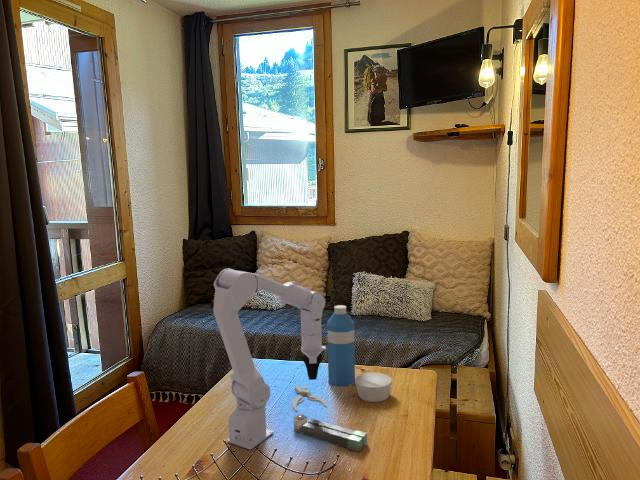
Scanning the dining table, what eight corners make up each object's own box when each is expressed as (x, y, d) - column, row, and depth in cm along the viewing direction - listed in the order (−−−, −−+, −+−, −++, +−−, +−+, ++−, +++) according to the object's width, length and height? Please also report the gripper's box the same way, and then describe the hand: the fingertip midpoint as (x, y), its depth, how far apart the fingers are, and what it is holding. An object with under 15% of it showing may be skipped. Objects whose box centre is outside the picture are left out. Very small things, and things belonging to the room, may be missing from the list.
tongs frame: (358, 452, 115) (358, 438, 114) (290, 431, 126) (289, 418, 125) (366, 444, 118) (366, 430, 118) (298, 425, 129) (298, 411, 129)
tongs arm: (363, 446, 117) (363, 436, 117) (308, 430, 126) (307, 420, 125) (367, 443, 119) (367, 433, 118) (312, 426, 127) (312, 417, 127)
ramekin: (353, 403, 141) (353, 386, 141) (357, 387, 152) (357, 371, 152) (391, 405, 139) (391, 388, 139) (392, 389, 150) (392, 373, 150)
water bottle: (348, 373, 163) (347, 302, 161) (360, 383, 155) (359, 308, 152) (323, 377, 160) (321, 305, 157) (334, 388, 151) (332, 311, 149)
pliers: (294, 407, 136) (284, 386, 151) (294, 413, 137) (284, 391, 151) (327, 403, 139) (315, 382, 153) (327, 408, 139) (315, 387, 154)
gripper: (327, 340, 128) (328, 388, 129) (323, 324, 142) (324, 368, 144) (301, 341, 127) (302, 389, 129) (300, 325, 142) (301, 369, 143)
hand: (312, 378), depth 136 cm, fingers closed
